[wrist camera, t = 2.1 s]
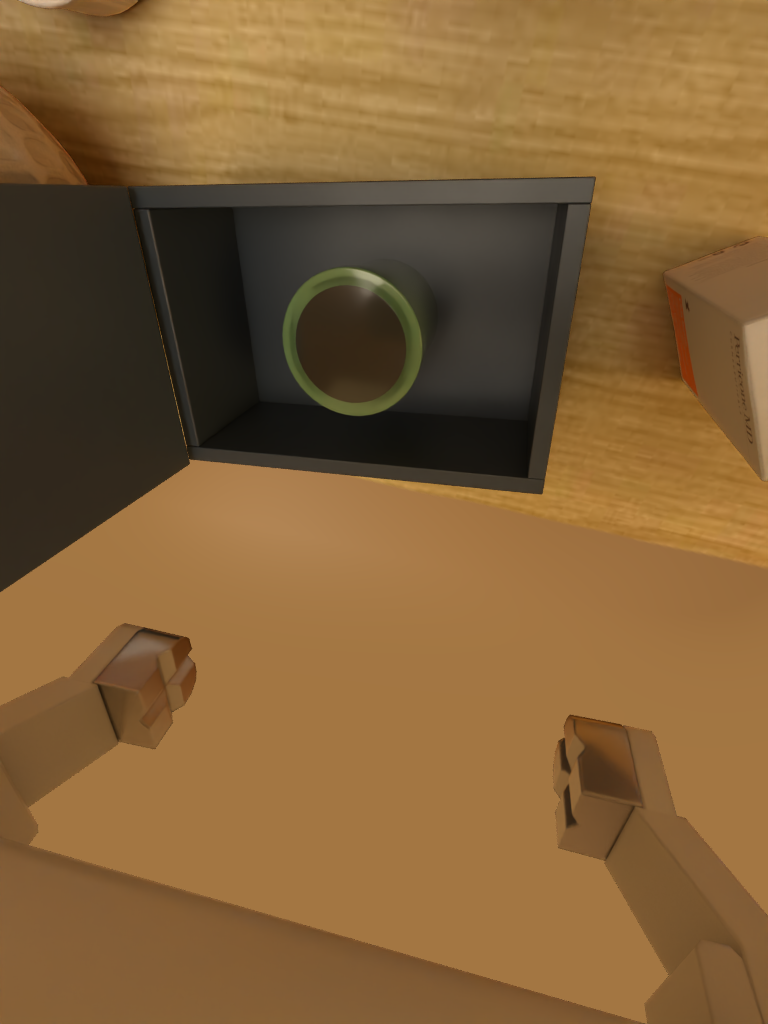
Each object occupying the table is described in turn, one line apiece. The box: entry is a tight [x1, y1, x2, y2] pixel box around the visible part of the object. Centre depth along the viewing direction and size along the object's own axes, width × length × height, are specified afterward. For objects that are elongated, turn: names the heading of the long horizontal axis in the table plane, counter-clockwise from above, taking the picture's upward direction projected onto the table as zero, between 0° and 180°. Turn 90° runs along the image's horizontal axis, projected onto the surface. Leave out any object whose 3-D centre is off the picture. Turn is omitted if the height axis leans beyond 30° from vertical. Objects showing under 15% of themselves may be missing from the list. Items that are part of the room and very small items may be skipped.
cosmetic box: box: [663, 236, 768, 481], centre depth 21 cm, size 6×4×12 cm
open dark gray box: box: [128, 177, 596, 494], centre depth 26 cm, size 19×13×8 cm
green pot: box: [282, 259, 438, 416], centre depth 26 cm, size 7×7×7 cm
